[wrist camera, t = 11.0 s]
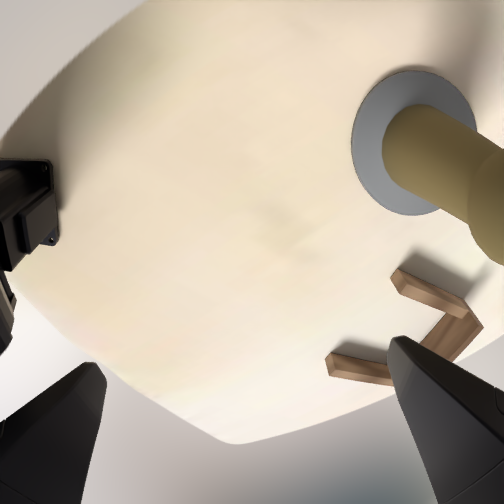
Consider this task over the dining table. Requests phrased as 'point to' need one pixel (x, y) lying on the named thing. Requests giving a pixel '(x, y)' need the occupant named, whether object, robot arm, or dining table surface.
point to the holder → (438, 340)
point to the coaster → (377, 119)
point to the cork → (449, 170)
